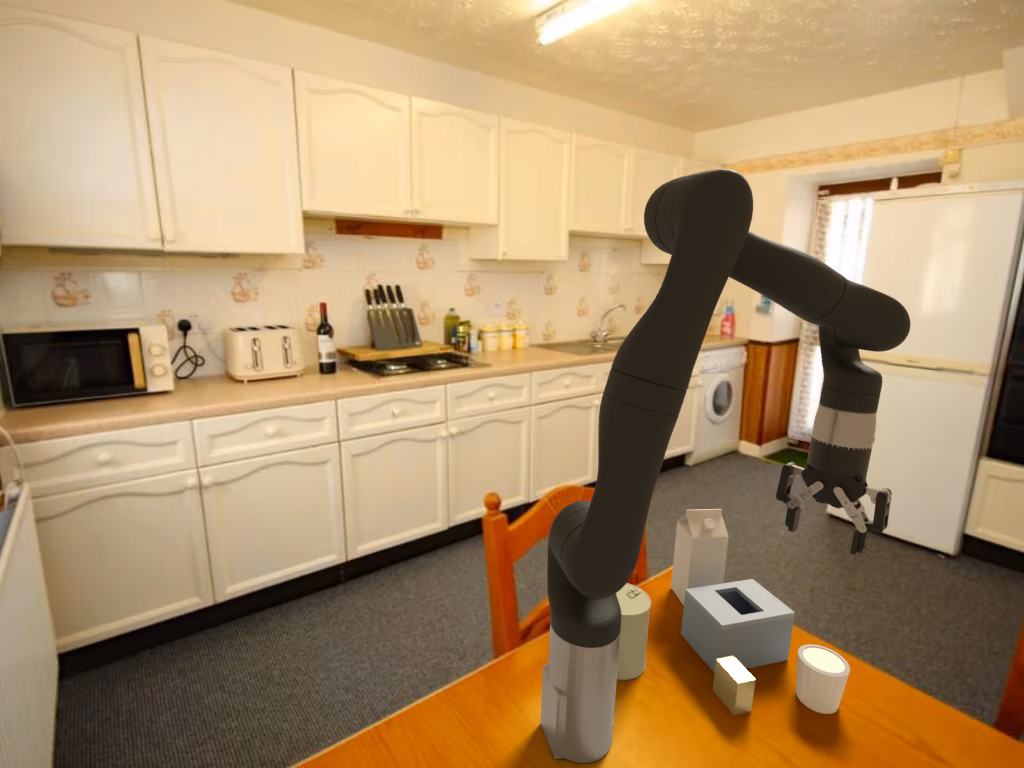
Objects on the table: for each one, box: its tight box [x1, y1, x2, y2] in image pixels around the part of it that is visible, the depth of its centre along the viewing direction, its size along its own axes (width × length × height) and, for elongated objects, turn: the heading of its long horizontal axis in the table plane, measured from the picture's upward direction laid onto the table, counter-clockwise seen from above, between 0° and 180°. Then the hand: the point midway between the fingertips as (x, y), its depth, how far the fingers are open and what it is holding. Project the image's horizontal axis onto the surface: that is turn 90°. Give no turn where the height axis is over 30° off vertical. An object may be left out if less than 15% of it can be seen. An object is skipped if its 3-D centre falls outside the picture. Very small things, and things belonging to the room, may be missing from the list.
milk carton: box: [670, 508, 730, 607], centre depth 103 cm, size 7×7×19 cm
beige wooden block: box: [712, 656, 756, 716], centre depth 79 cm, size 3×5×6 cm, turn 16°
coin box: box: [680, 578, 796, 674], centre depth 90 cm, size 14×10×9 cm
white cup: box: [795, 643, 851, 715], centre depth 80 cm, size 7×7×7 cm
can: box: [616, 582, 652, 681], centre depth 86 cm, size 9×9×12 cm
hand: (822, 541), depth 79 cm, fingers open, 8 cm apart
